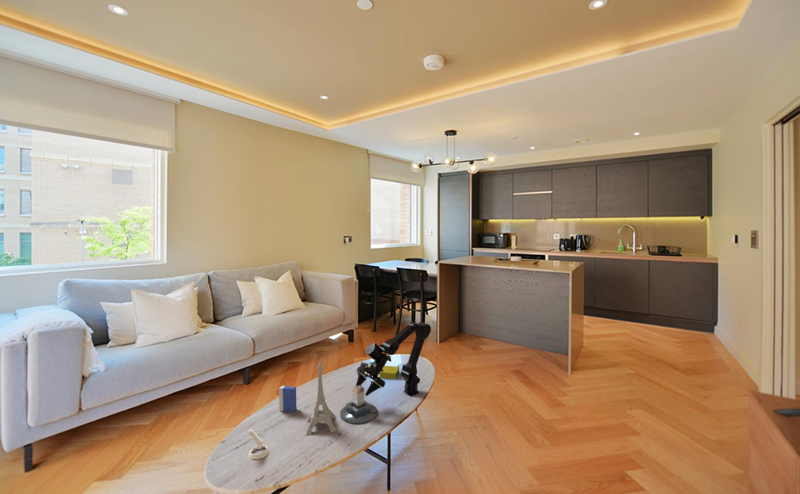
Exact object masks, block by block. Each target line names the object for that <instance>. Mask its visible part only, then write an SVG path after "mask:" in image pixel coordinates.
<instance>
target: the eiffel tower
mask: <svg viewBox="0 0 800 494" xmlns="http://www.w3.org/2000/svg"><path fill="white" fill-rule="evenodd" d="M317 371H318V380H317V381H318V383H317V395H316V396H317V397H316V398H315V405H314V407H313V408H312V409H311V410H312V411H311V413H310V414H309V416H308V417H307V418H306V423H308V424H309V425H308V426H307V428H306V431H305V433H304V434H305V436H312V433H313V431H312V430H313V428H314V426H315V425H316V424H318V423H323V422H324V423H325V424H327V425H328V428H329V433H334V432H336V431H337V427H336V426H335V425H334V423H333V420H334V419H336V414H335V413H333V411H332V410H330V406H328V405H327V402H326V397H325V395H324V388H323V387H324V384H323V375H322V374H323V373H322V372H323V364H322V362H321V361H319V362H318V365H317ZM319 406H321V407H320V408H319Z"/></svg>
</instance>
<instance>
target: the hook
mask: <svg viewBox="0 0 800 494" xmlns="http://www.w3.org/2000/svg"><path fill="white" fill-rule="evenodd" d="M248 435H249V436H250V437H251V439H252V440H253V441H254V443H256V446H253V447H252V448H251V449H250V450H249V452H248V455H247V456H248V458H249V459H250V458H251V459H250V460H252V459H257V460H261V459H263V458H265V457H266V456H268V454H269V452H270V450H269V448H268V446H267V445H266V444H264V440H263V439H261V438H260V437H259V436H258V435H257V434H256V432H255V431H254V430H253V429H252V428H250V430H249V431H248ZM261 449H265V450H264V451H263V452H261V453H256V454H255V453H252V452H253V451H255V450H261ZM260 458H261V459H260Z"/></svg>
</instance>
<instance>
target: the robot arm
mask: <svg viewBox="0 0 800 494" xmlns="http://www.w3.org/2000/svg"><path fill="white" fill-rule="evenodd" d="M431 332H432V327H431V325H430V324H428V323H425V322H421V321H420V322H418V323H417V322H412V321H411V322H408V323H407V325H406V326H405V327H404V328H402V329H401V330H400V331H399V332H398V333H397V334H396V335H395V336H393V337H392V338H388V339H387V340H385V341H384V342H382V343H381V344H379V345H378V343H376V342H375V341H373V342H372V344H369V345H368V346H366V349H365V354H366V355H367V356H368V357H369V358H371V359H372V360H373V361H371V362H369V363H366V362H360V366H358V367H357V368H356V371H357V372H356V373H357V376H358V377H357V381H356V383H355V387H356V386H359V385H360V386H362V385H363V384H364V382H366V380H367V378H369V379H371V380H370V385H369V386H368V388H367V390H366V392H365V393H364V396H365V397H368V396H369V395H370V394H373V393H374V392H375V391H377V390H379V389H382V388H385V385H386V381H384V380H383V378H380V377H379V373H380V372H383V367H384V366H386V364H387V363H388V362H391V363H392V357H391V356H393V355H395V354H396V353H397V351H398V350H399V348H400V346H401V344H403V342H404V341H406V340H407V339H408V338H409V337H410V336H411V335H412V334H413V333H415V339H414V343H413V345H412V349H411V352H410V356H409V358H408V361H407V363H406V364H403V365H402V367H401V370H400V376H401V378H402V380H403V381H404V390H403V392H404V393H405V394H407V396H410V397H411V396H412V397H413V396H414V395H417V394H419V393H420V391H419V389H418V388H419V387H418V385H419V384H420V382H421V378H420V377H419V376H418V375H417V374H418V369H417V367H418V362H419V359H420V355H421V352H422V349H423V346H424V344H425V343H424V342H425V340H426V339H427V338H428V337H429V336H430V334H431Z"/></svg>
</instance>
